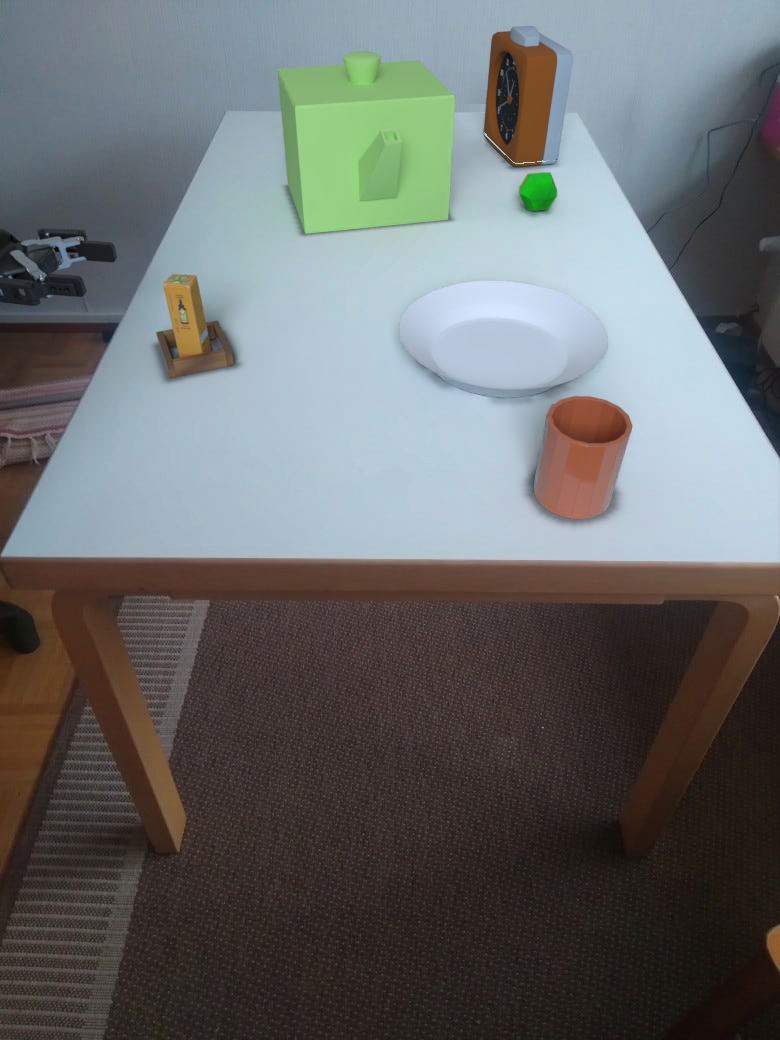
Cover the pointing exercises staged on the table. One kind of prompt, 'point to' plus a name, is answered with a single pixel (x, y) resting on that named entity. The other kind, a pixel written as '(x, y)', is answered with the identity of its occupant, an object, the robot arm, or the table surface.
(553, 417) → the cup
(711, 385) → the table surface
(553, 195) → the green faceted polyhedron
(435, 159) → the teapot
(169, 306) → the supplement box
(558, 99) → the alarm clock
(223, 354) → the wooden frame
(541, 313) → the white plate
